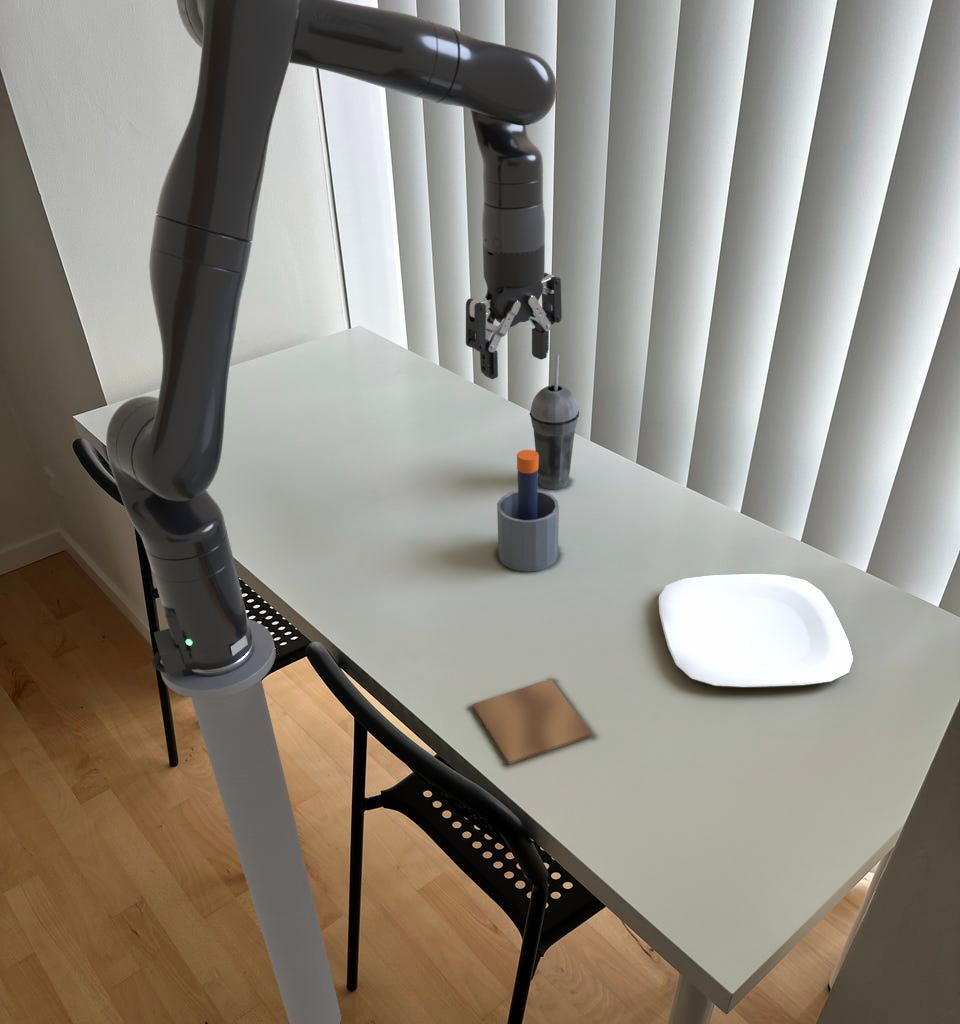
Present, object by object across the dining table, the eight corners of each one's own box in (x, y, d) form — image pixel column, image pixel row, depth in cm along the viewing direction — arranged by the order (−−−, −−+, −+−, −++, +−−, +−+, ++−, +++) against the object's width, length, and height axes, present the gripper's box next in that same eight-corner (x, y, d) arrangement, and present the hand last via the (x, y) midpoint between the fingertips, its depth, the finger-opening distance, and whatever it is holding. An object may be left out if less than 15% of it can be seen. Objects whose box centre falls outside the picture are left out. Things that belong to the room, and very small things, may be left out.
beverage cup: (523, 490, 149) (523, 366, 137) (537, 467, 155) (537, 345, 142) (570, 496, 147) (573, 371, 135) (582, 473, 153) (586, 350, 140)
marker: (523, 558, 134) (522, 461, 125) (514, 548, 136) (513, 452, 127) (541, 553, 135) (542, 456, 126) (532, 543, 137) (532, 447, 128)
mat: (509, 764, 106) (509, 761, 105) (472, 707, 113) (472, 704, 113) (591, 736, 109) (591, 733, 108) (550, 682, 116) (550, 678, 115)
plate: (866, 692, 113) (869, 681, 111) (677, 698, 113) (678, 687, 112) (813, 580, 129) (816, 570, 128) (649, 586, 130) (650, 576, 128)
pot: (513, 577, 132) (512, 527, 127) (489, 546, 138) (487, 498, 133) (567, 562, 134) (569, 512, 129) (541, 532, 140) (541, 484, 135)
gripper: (536, 220, 124) (536, 343, 134) (448, 246, 117) (454, 374, 127) (577, 233, 119) (574, 359, 130) (488, 261, 113) (492, 393, 123)
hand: (515, 367), depth 129 cm, fingers open, 8 cm apart
